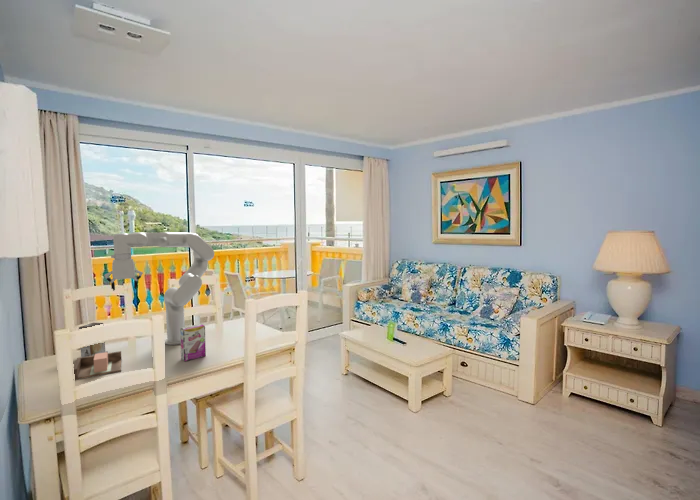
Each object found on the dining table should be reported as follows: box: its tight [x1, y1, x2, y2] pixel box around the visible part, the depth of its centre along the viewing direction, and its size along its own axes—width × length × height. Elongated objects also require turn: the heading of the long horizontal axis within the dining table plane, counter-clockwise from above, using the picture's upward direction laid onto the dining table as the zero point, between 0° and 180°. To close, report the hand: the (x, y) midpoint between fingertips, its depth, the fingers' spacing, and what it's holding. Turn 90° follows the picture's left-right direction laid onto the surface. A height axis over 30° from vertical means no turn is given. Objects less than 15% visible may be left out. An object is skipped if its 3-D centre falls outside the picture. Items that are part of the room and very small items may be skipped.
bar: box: [94, 350, 109, 373], centre depth 177 cm, size 10×5×6 cm, turn 30°
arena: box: [73, 350, 123, 381], centre depth 177 cm, size 18×16×5 cm
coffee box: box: [78, 322, 106, 358], centre depth 196 cm, size 9×6×16 cm
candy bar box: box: [180, 323, 207, 362], centre depth 191 cm, size 11×5×16 cm, turn 134°
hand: (124, 289), depth 197 cm, fingers open, 9 cm apart
